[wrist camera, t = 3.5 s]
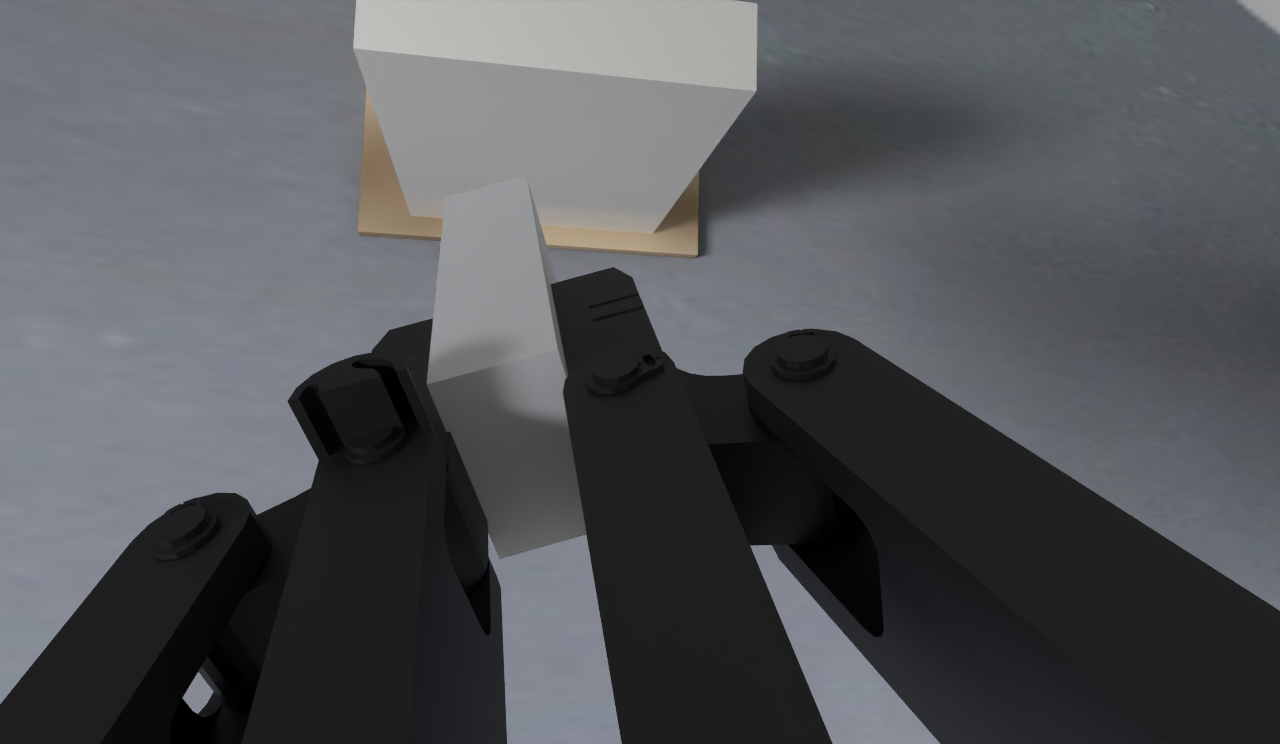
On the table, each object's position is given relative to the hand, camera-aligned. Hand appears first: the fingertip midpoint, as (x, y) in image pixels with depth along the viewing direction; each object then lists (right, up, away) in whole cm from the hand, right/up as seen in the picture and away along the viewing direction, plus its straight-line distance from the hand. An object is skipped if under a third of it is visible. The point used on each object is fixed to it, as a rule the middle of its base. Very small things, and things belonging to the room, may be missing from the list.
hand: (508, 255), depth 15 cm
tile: (-2, +5, +19) cm, 20 cm away
